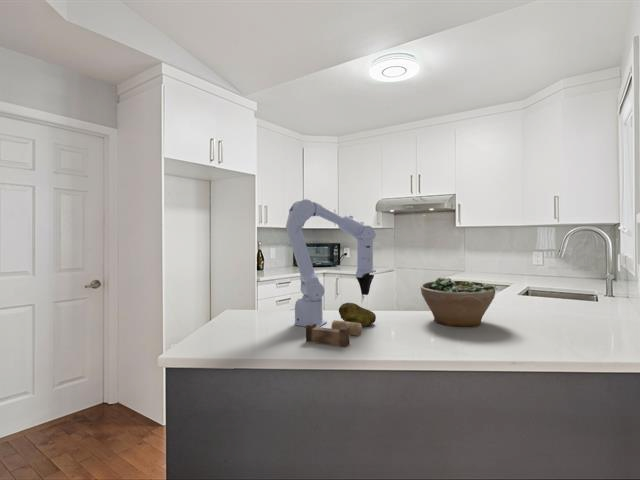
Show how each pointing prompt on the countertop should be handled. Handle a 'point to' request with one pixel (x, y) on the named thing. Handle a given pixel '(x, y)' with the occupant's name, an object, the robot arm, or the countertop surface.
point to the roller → (353, 327)
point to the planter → (458, 301)
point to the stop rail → (327, 335)
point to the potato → (356, 314)
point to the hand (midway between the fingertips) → (365, 294)
